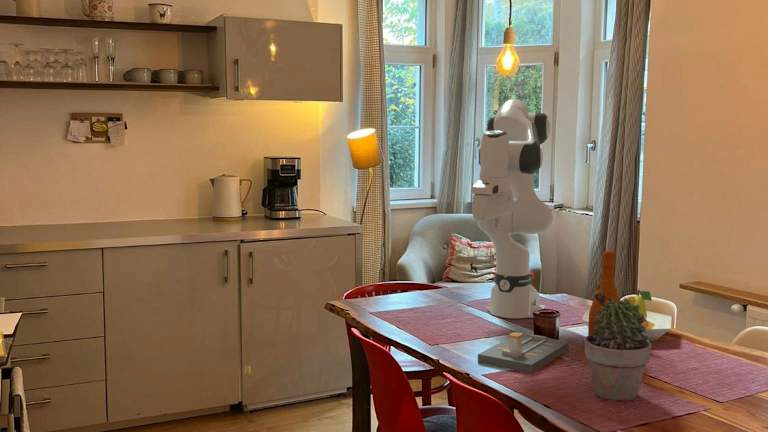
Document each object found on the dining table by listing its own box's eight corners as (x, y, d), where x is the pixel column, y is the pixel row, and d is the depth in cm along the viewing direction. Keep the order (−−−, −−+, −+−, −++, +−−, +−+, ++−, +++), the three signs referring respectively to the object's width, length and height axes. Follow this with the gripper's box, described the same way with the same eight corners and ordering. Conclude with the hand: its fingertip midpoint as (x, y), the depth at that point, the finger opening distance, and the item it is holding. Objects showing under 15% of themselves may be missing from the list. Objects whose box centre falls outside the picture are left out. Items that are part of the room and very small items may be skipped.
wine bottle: (623, 351, 223) (628, 248, 219) (622, 361, 214) (627, 254, 210) (588, 347, 226) (592, 246, 222) (586, 357, 217) (589, 252, 213)
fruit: (693, 337, 238) (695, 291, 236) (645, 353, 222) (647, 304, 220) (610, 317, 261) (611, 275, 259) (561, 330, 245) (562, 286, 243)
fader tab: (513, 350, 215) (513, 332, 214) (522, 351, 213) (523, 333, 212) (508, 353, 212) (508, 334, 211) (517, 355, 210) (517, 336, 210)
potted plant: (651, 414, 175) (657, 307, 172) (568, 398, 185) (571, 296, 182) (669, 391, 190) (674, 292, 187) (590, 377, 200) (594, 283, 197)
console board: (518, 340, 233) (519, 328, 233) (569, 349, 224) (569, 337, 223) (477, 362, 212) (478, 349, 212) (531, 373, 203) (531, 360, 202)
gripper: (500, 182, 238) (499, 226, 240) (468, 188, 221) (468, 235, 223) (519, 183, 234) (518, 228, 236) (488, 189, 218) (487, 237, 220)
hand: (493, 231), depth 230 cm, fingers closed
